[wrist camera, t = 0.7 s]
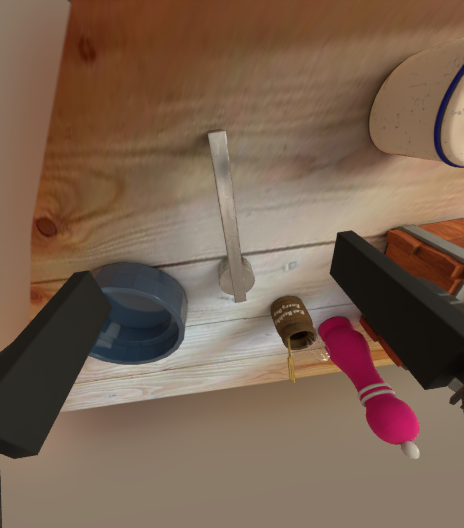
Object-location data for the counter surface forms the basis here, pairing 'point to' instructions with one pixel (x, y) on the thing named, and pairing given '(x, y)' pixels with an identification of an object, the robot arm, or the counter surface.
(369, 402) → the pepper mill
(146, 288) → the bowl
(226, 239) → the bent grey beam
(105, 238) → the counter surface
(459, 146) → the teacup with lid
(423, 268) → the milk bottle holder
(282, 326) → the utensil holder
